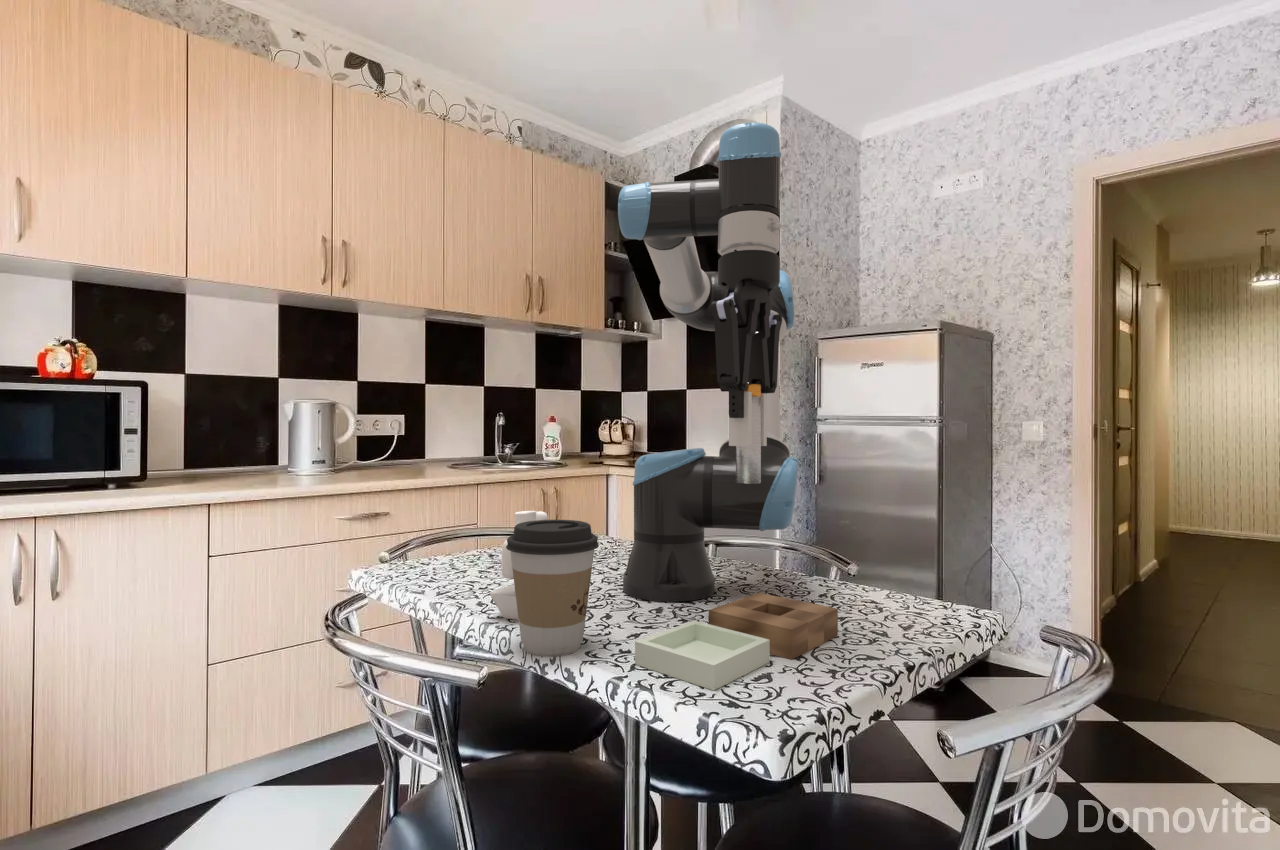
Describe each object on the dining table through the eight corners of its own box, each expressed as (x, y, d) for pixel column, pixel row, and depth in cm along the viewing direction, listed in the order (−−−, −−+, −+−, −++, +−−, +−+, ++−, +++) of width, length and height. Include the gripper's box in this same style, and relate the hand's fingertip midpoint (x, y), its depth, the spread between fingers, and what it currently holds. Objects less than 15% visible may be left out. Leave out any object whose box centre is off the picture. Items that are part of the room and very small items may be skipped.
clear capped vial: (731, 482, 80) (731, 384, 80) (743, 481, 83) (744, 386, 83) (752, 483, 78) (753, 383, 79) (765, 482, 81) (765, 385, 81)
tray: (635, 664, 75) (635, 641, 75) (693, 640, 83) (693, 620, 83) (713, 690, 68) (713, 665, 68) (769, 662, 76) (769, 639, 76)
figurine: (484, 621, 91) (484, 513, 91) (522, 604, 100) (522, 505, 100) (528, 628, 88) (528, 516, 88) (563, 609, 97) (564, 508, 97)
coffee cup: (586, 666, 74) (586, 533, 74) (490, 660, 76) (491, 530, 76) (607, 634, 85) (607, 519, 85) (523, 629, 87) (524, 517, 87)
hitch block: (708, 637, 85) (708, 610, 85) (758, 617, 94) (758, 592, 94) (792, 659, 77) (792, 629, 77) (837, 635, 86) (837, 608, 86)
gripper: (741, 234, 72) (740, 447, 72) (806, 263, 85) (805, 445, 84) (685, 246, 77) (684, 445, 77) (754, 272, 90) (754, 444, 89)
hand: (747, 445), depth 81 cm, fingers closed on clear capped vial, 3 cm apart
